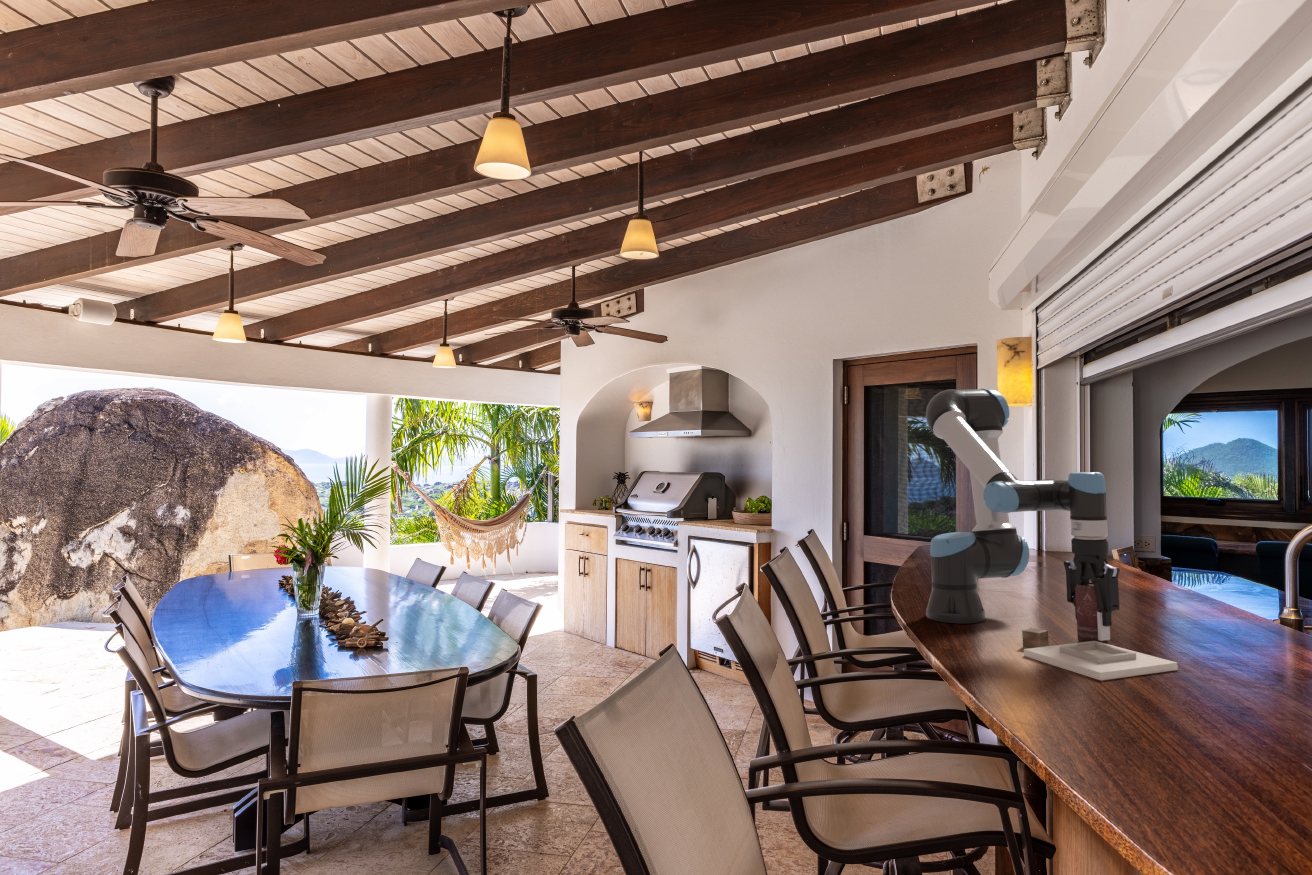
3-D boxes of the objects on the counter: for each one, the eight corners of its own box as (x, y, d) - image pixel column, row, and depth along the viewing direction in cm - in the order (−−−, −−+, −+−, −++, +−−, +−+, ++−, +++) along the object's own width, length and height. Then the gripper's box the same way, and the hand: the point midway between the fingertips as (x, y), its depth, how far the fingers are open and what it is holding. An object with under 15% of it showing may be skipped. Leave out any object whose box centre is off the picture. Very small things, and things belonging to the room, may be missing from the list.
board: (1024, 655, 165) (1023, 643, 165) (1094, 647, 171) (1094, 635, 171) (1100, 680, 146) (1100, 666, 146) (1177, 669, 152) (1177, 656, 152)
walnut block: (1022, 647, 173) (1022, 630, 173) (1031, 644, 175) (1030, 627, 175) (1040, 650, 169) (1039, 633, 170) (1048, 647, 172) (1047, 630, 172)
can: (1114, 646, 171) (1111, 585, 171) (1086, 646, 171) (1084, 586, 172) (1099, 640, 177) (1097, 581, 178) (1072, 640, 177) (1070, 581, 178)
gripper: (1046, 535, 182) (1050, 630, 181) (1109, 542, 164) (1115, 647, 164) (1070, 533, 184) (1075, 627, 183) (1136, 540, 167) (1141, 644, 166)
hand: (1093, 636), depth 173 cm, fingers open, 5 cm apart
